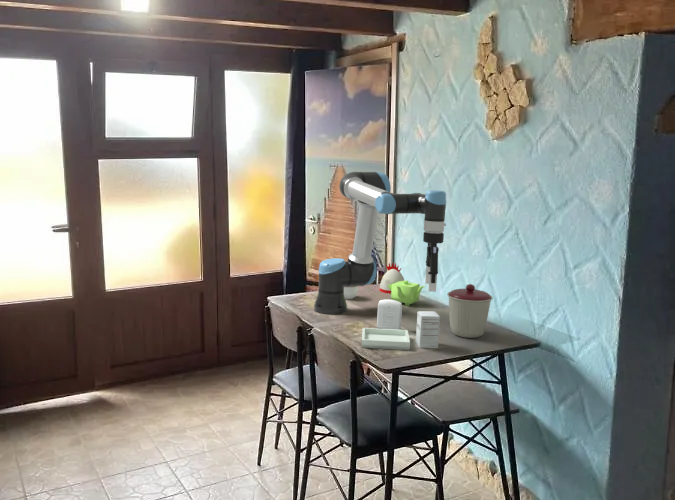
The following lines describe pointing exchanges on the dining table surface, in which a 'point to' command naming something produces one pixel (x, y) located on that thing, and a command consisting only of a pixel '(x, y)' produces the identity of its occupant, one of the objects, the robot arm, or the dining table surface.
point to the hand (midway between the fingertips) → (430, 287)
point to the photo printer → (389, 314)
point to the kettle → (405, 292)
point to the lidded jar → (350, 292)
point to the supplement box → (427, 329)
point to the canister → (468, 311)
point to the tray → (385, 338)
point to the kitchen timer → (390, 278)
